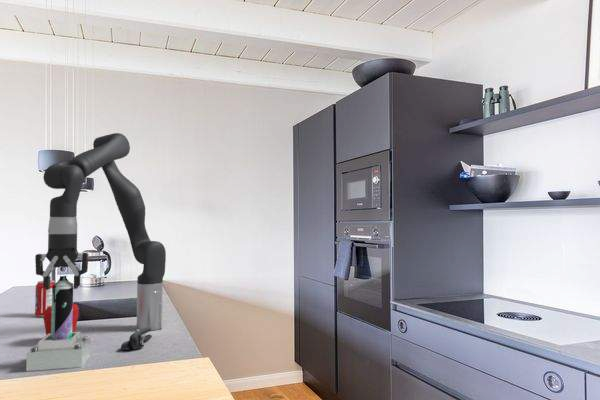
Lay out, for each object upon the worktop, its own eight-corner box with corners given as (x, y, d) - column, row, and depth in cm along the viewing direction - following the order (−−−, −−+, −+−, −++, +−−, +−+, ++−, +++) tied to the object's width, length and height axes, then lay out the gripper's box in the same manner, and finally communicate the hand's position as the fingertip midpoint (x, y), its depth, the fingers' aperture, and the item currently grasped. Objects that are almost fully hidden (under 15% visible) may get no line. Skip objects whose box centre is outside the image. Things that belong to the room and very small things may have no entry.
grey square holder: (90, 354, 137) (91, 329, 137) (81, 367, 126) (82, 340, 126) (40, 358, 134) (40, 332, 134) (26, 371, 122) (26, 343, 122)
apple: (72, 335, 160) (73, 297, 160) (82, 341, 152) (83, 301, 153) (39, 341, 152) (40, 301, 153) (48, 347, 145) (49, 305, 146)
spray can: (62, 347, 127) (64, 277, 128) (46, 346, 128) (48, 276, 129) (76, 342, 132) (77, 275, 133) (59, 341, 133) (61, 274, 134)
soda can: (49, 318, 188) (49, 282, 189) (30, 317, 188) (31, 282, 189) (59, 314, 196) (60, 279, 197) (41, 314, 196) (42, 279, 197)
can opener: (139, 352, 140) (140, 334, 140) (118, 352, 140) (118, 334, 140) (159, 337, 157) (160, 321, 157) (140, 337, 157) (140, 321, 158)
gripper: (91, 231, 137) (91, 286, 136) (39, 232, 133) (38, 288, 132) (86, 232, 129) (85, 290, 129) (31, 233, 126) (30, 292, 125)
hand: (61, 288), depth 131 cm, fingers open, 7 cm apart
